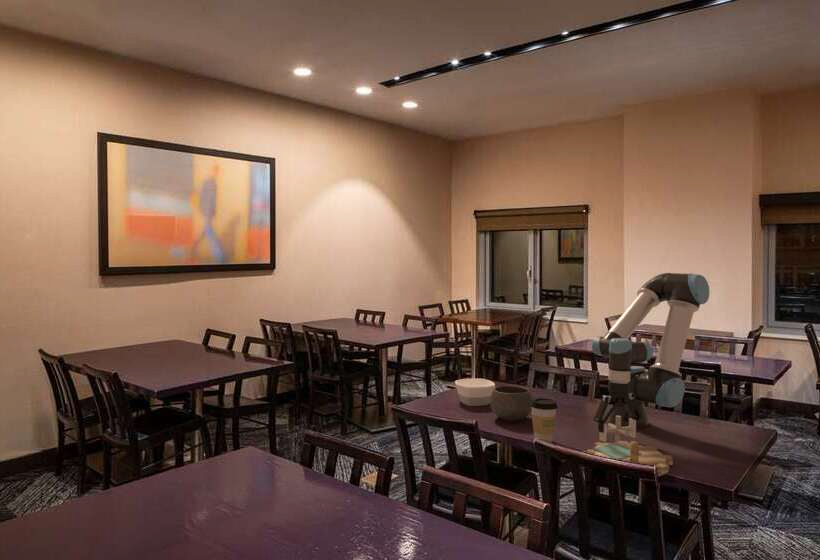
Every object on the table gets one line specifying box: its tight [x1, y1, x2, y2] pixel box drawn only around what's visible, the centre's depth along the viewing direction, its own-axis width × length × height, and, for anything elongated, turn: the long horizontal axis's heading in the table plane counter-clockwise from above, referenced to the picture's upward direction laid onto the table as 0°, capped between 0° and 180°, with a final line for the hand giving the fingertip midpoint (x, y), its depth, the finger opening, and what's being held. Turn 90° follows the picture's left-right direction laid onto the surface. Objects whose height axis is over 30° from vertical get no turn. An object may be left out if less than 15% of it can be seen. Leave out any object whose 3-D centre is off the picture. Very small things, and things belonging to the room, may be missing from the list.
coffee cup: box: [530, 397, 559, 442], centre depth 206 cm, size 10×10×15 cm
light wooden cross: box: [606, 416, 632, 443], centre depth 204 cm, size 10×10×10 cm
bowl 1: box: [454, 377, 496, 407], centre depth 259 cm, size 18×18×9 cm
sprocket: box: [587, 440, 673, 474], centre depth 184 cm, size 26×26×9 cm
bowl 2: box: [489, 385, 534, 422], centre depth 234 cm, size 18×18×13 cm
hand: (617, 438), depth 204 cm, fingers open, 13 cm apart
